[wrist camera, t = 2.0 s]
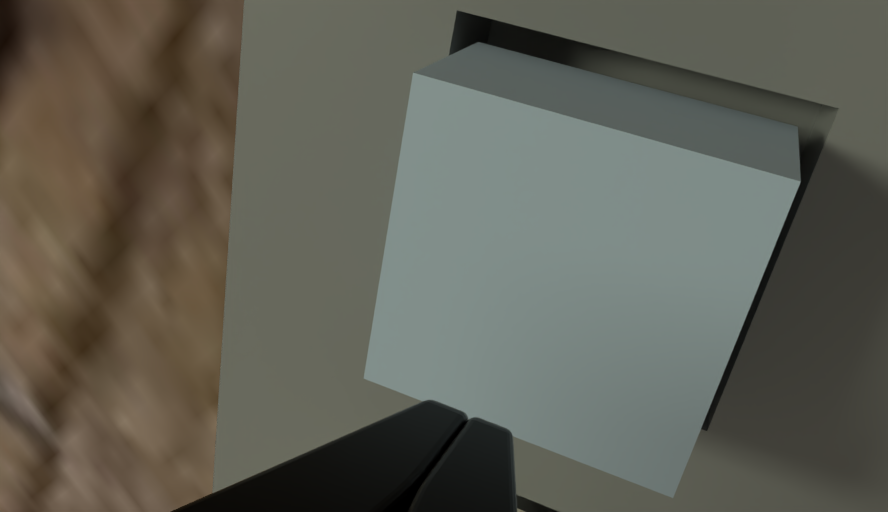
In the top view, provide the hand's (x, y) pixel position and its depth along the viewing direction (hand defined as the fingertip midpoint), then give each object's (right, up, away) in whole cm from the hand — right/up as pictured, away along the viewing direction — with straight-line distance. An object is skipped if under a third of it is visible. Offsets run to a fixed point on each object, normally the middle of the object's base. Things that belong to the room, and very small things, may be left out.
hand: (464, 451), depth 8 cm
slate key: (+2, +2, +5) cm, 6 cm away
